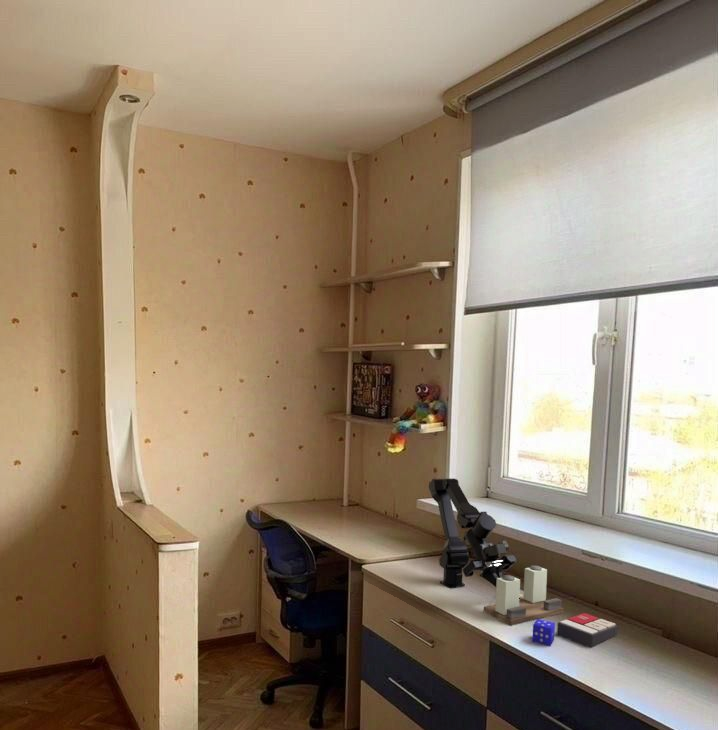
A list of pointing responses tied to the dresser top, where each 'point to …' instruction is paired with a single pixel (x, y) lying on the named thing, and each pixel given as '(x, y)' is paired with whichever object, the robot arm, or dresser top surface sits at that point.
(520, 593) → the card
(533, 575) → the button
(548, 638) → the die
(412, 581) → the dresser top surface
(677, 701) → the dresser top surface
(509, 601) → the button
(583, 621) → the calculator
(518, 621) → the wooden base plate
